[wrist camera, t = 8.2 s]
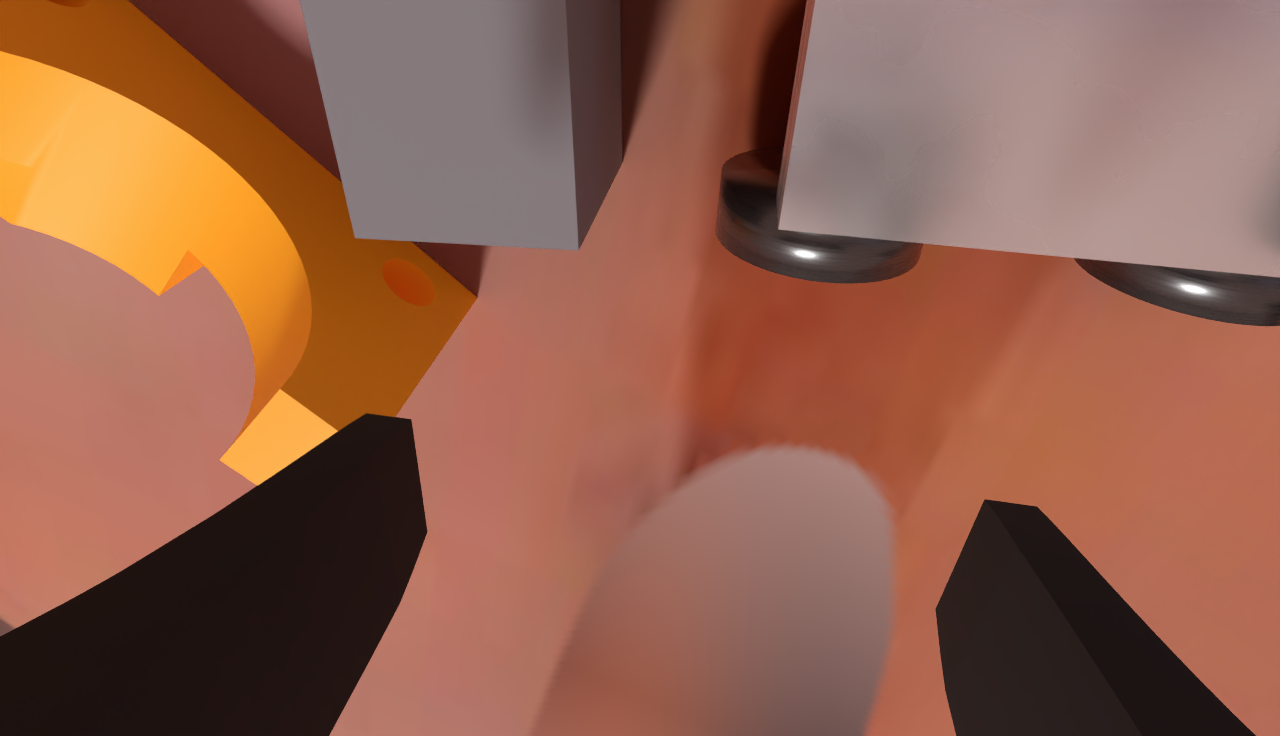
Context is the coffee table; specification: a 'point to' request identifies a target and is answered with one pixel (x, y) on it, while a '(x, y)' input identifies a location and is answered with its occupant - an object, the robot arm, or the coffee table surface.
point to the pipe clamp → (214, 217)
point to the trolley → (1029, 146)
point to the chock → (471, 116)
